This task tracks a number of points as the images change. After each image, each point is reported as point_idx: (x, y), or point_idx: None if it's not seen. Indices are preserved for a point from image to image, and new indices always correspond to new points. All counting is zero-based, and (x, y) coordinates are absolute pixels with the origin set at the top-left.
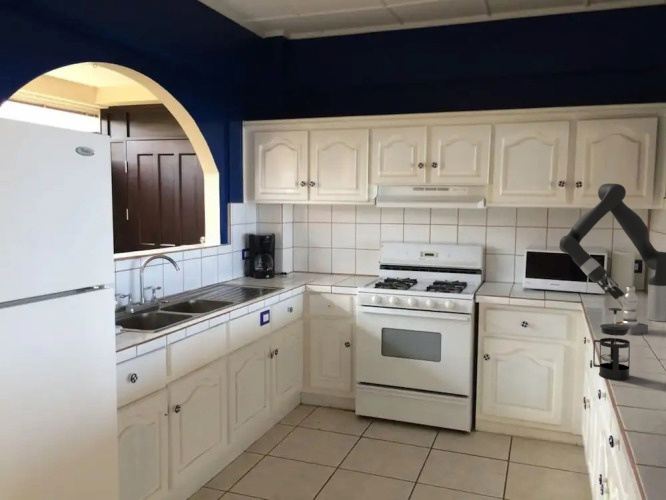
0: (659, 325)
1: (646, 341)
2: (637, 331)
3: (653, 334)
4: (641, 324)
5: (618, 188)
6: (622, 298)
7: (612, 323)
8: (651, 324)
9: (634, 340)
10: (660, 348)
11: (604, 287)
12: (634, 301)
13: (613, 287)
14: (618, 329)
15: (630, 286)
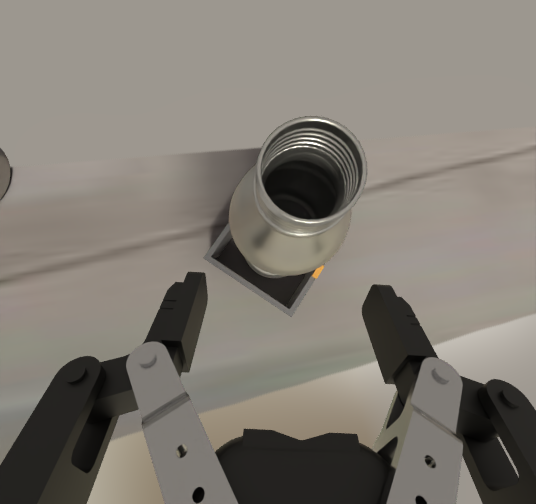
0: (97, 163)
1: (413, 176)
2: None
3: None
4: None
5: None
6: (316, 268)
7: (291, 315)
8: (88, 192)
9: (420, 212)
10: (488, 130)
11: (496, 491)
12: (332, 181)
13: (137, 408)
14: None
15: (259, 174)
